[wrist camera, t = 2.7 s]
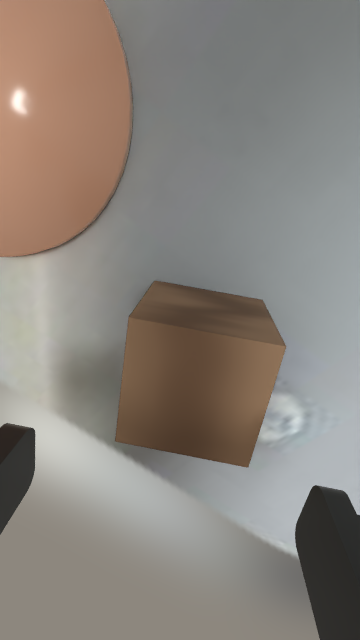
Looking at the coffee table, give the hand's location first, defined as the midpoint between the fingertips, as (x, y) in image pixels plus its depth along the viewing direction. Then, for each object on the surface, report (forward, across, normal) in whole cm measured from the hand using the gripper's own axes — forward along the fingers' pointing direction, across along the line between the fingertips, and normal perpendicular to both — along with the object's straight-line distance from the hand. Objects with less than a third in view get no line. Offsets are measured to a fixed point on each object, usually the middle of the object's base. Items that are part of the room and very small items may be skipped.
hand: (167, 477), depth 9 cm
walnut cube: (+10, -1, 0) cm, 10 cm away
